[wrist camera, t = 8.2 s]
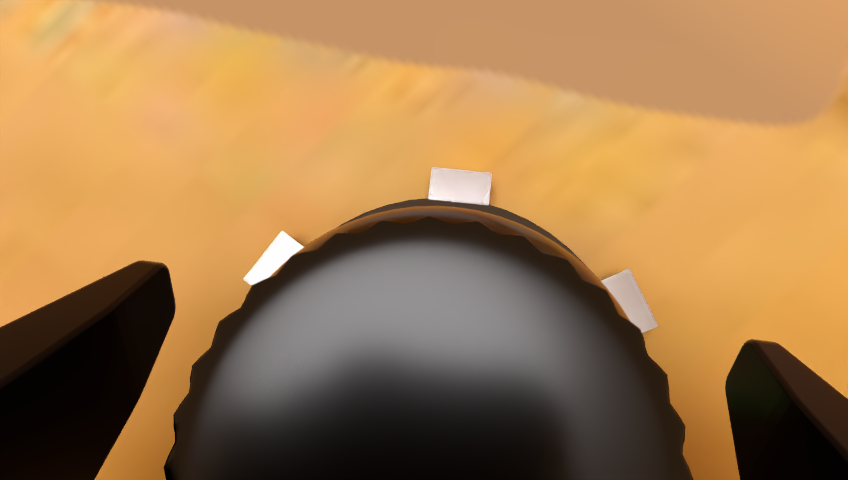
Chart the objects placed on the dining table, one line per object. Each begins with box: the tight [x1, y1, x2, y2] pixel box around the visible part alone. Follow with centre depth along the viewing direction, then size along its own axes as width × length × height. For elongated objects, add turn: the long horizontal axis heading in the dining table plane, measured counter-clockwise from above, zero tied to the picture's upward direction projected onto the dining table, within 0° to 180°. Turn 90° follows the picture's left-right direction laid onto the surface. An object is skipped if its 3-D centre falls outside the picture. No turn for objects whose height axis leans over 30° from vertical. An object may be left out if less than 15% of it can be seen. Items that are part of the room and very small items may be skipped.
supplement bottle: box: [164, 206, 693, 480], centre depth 11 cm, size 7×7×12 cm
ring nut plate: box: [244, 167, 658, 333], centre depth 18 cm, size 13×12×1 cm
